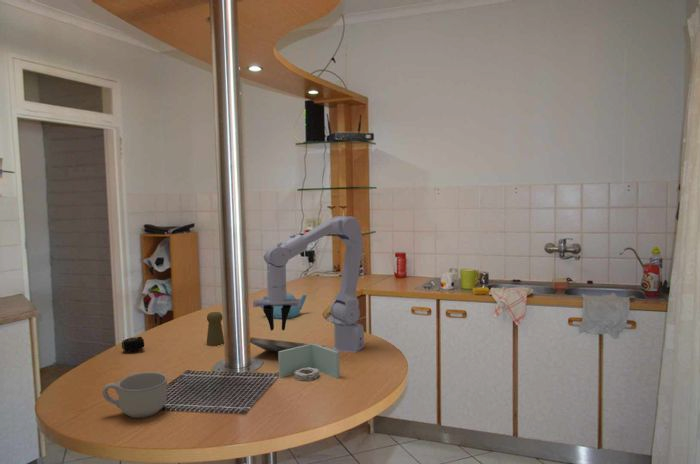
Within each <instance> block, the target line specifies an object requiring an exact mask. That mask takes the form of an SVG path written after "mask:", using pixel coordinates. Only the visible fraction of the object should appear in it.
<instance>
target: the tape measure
mask: <svg viewBox="0 0 700 464" xmlns="http://www.w3.org/2000/svg"><path fill="white" fill-rule="evenodd" d="M144 339H145V338H143V337H142V336H136V337H135V336H134V337H129V338H125V339H123V340H122V342H121V349H122V350H123V351H125V352H129V353H130V352H132V351H136V350H140V349H143V348H144V347H145V341H144Z"/></svg>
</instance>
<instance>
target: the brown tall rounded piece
mask: <svg viewBox="0 0 700 464" xmlns="http://www.w3.org/2000/svg"><path fill="white" fill-rule="evenodd" d="M206 320H207V322H208V324H207V327H208V328H207V335H206V336H207V337H206V346H208V347H219V346H218V345H220V346H222V345H221V344H223V345H224V344H225V338H224V333H223V326H222V320H223V314H222V313H221V312H220V311H212V312H209V313H208V314H207V315H206Z"/></svg>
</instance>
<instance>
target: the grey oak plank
mask: <svg viewBox="0 0 700 464" xmlns="http://www.w3.org/2000/svg"><path fill="white" fill-rule="evenodd" d="M294 342H295V341H294ZM294 342H293V341H287V342H286V341H284V340H279V341H278V339H277V340H276V339H267V338H260V337H259V338H258V337H250V339H249V343H250V344H252V345H254V346H256V347H258V348H260V349H262V350H264V351H267V352H276V353H278V351H282V350H287V349H291V348H295V347H299V346H303V344H301V343H302V342H296V343H294Z"/></svg>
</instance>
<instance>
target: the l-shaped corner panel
mask: <svg viewBox="0 0 700 464" xmlns="http://www.w3.org/2000/svg"><path fill="white" fill-rule="evenodd" d="M307 344H308V345H303V346H299V347H295V348H291V349H287V350H282V351H278V352H277V353H278V355H277V356H278V357H277V359H278V360H277V361H278V377H279V378H285V377H288V376H292V375H294V376H293V377H294V378H295V380H297V381H302V382H303V381H313V380H316V379H317V378H319V375H320V373H322V374H325V375H327V376H330V377H333V378H335V379H339V378H340V377H341V376H340V375H341V373H340V372H341V370H340V351H337V350H333V349H331V348H330V347H329V348H328V347H326V346H325V347H323V346H324V345H321V346H320V345H319V344H316V343H314V342H313V343H307Z"/></svg>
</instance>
